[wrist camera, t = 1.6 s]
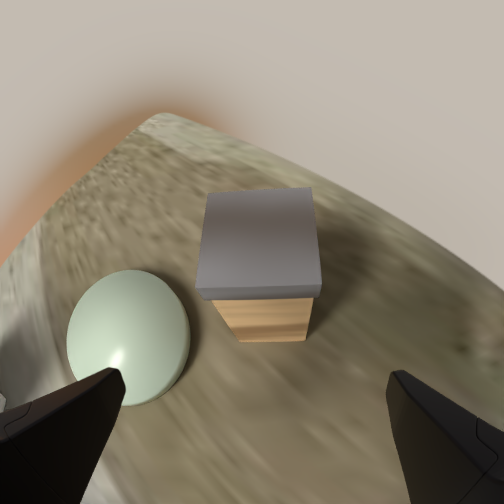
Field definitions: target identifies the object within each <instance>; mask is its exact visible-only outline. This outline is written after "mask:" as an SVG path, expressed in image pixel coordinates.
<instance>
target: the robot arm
mask: <svg viewBox="0 0 504 504" xmlns="http://www.w3.org/2000/svg"><path fill="white" fill-rule="evenodd" d="M125 393H126V385H125V383H124V380H123V377H122V374H121V372H120V370H119V369H117V368H112V367H107V368H105V369H103V370H101V371H99V372H96V373H94V374H92V375H90V376H88V377H86V378H83V379H81V380H79V381H77V382H75V383H72V384H70V385H68V386H66V387H63V388H61V389H59V390H56V391H54V392H52V393H50V394H47V395H45V396H43V397H40V398H38V399H36V400H33V402H32V401H31V402H28V403H26V404H24V405H21V406H18V407H16V408H13V409H10V410H7V411H4V412H1V413H0V504H80V502H81V500H82V498H83V495H84V493H85V490H86V488H87V486H88V483H89V481H90V479H91V476H92V474H93V472H94V469H95V467H96V465H97V463H98V460H99V458H100V456H101V454H102V451H103V449H104V447H105V445H106V443H107V440H108V438H109V436H110V434H111V432H112V430H113V427H114V425H115V422H116V420H117V417H118V414H119V411H120V408H121V405H122V402H123V399H124V396H125ZM386 400H387V405H388V411H389V416H390V422H391V428H392V433H393V437H394V441H395V445H396V448H397V452H398V455H399V459H400V462H401V466H402V470H403V473H404V477H405V481H406V485H407V489H408V493H409V497H410V502H411V504H504V432H503V431H501V430H499V429H497V428H495V427H494V426H492V425H490V424H488V423H487V422H485V421H483V420H482V419H480V418H477V416H475V415H474V414H472V413H470V412H469V411H467V410H466V409H464V408H463V407H461V406H459V405H458V404H456V403H455V402H453V401H451V400H450V399H448V398H447V397H445V396H444V395H442V394H440V393H439V392H437V391H436V390H434V389H433V388H431V387H429V386H428V385H426V384H425V383H423V382H422V381H420V380H418V379H417V378H415V377H414V376H412V375H411V374H409V373H408V372H406V371H404V370H397V371H392V372H391V374H390V376H389V381H388V385H387V389H386Z"/></svg>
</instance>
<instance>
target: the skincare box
mask: <svg viewBox="0 0 504 504" xmlns="http://www.w3.org/2000/svg"><path fill="white" fill-rule="evenodd" d="M5 403H6V398H5V397H4V396H3V395H2V394H1V393H0V413H1V412H4V407H5Z"/></svg>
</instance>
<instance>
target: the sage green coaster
mask: <svg viewBox="0 0 504 504" xmlns="http://www.w3.org/2000/svg"><path fill="white" fill-rule="evenodd" d="M190 339H191V334H190V324H189V319H188V316H187V313H186V310H185V308H184V306H183V304H182V302H181V301H180V299H179V298H178V297H177V295H176V294H175V293H174V292H173V291H172V290H171V289H170V288H169V286H168V285H167V284H166V283H165V282H163V281H162V280H161V279H160V278H158V277H156V276H155V275H153V274H150V273H148V272H144V271H140V270H124V271H119V272H115V273H112V274H110V275H108V276H106V277H104V278H102V279H100V280H99V281H97V282H96V283H95V284H94V285H92V286H91V287H90V288H89V289H88V290H87V291H86V292H85V294H84V295H83V296H82V297H81V299H80V300H79V302H78V304H77V305H76V307H75V309H74V311H73V314H72V316H71V319H70V323H69V326H68V332H67V353H68V359H69V363H70V366H71V369H72V371H73V373H74V375H75V377H76V379H77V380H78V381H79V380H81V379H83V378H86V377H88V376H90V375H92V374H94V373H96V372H99V371H101V370H103V369H105V368H107V367H112V368H117V369H119V370H120V372H121V374H122V377H123V380H124V383H125V385H126V393H125V396H124V399H123V402H122V405H123V406H136V405H142V404H145V403H149V402H151V401H153V400H155V399H157V398H159V397H160V396H161V395H163V394H164V393H165V392H167V391H168V390H169V389H170V388H171V387H172V386H173V384H174V383H175V382H176V381H177V379H178V378H179V376H180V374H181V373H182V371H183V369H184V366H185V364H186V361H187V358H188V355H189V349H190Z"/></svg>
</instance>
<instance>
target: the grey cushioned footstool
mask: <svg viewBox="0 0 504 504" xmlns="http://www.w3.org/2000/svg"><path fill="white" fill-rule="evenodd" d="M321 286H322V279H321V268H320V257H319V248H318V238H317V229H316V221H315V213H314V205H313V198H312V190H311V187H307V188H283V189H263V190H247V191H233V192H220V193H208V197H207V204H206V210H205V217H204V224H203V231H202V238H201V245H200V253H199V260H198V268H197V276H196V285H195V288H196V290H197V291H198V292H199V294H200V295H201V297H202V298H203V299H204V300H211V301H212V302H213V304H214V305H215V307H216V308H217V310H218V311H219V313H220V314H221V315H222V317H223V318H224V320H225V321H226V323H227V324H228V326H229V327H230V328H231V330H232V331H233V333H234V334H235V336H236V337H237V338H238V340H239V341H240V342H282V341H305V339H306V334H307V329H308V324H309V319H310V314H311V309H312V304H313V299H314V298H319V295H320V291H321Z"/></svg>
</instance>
